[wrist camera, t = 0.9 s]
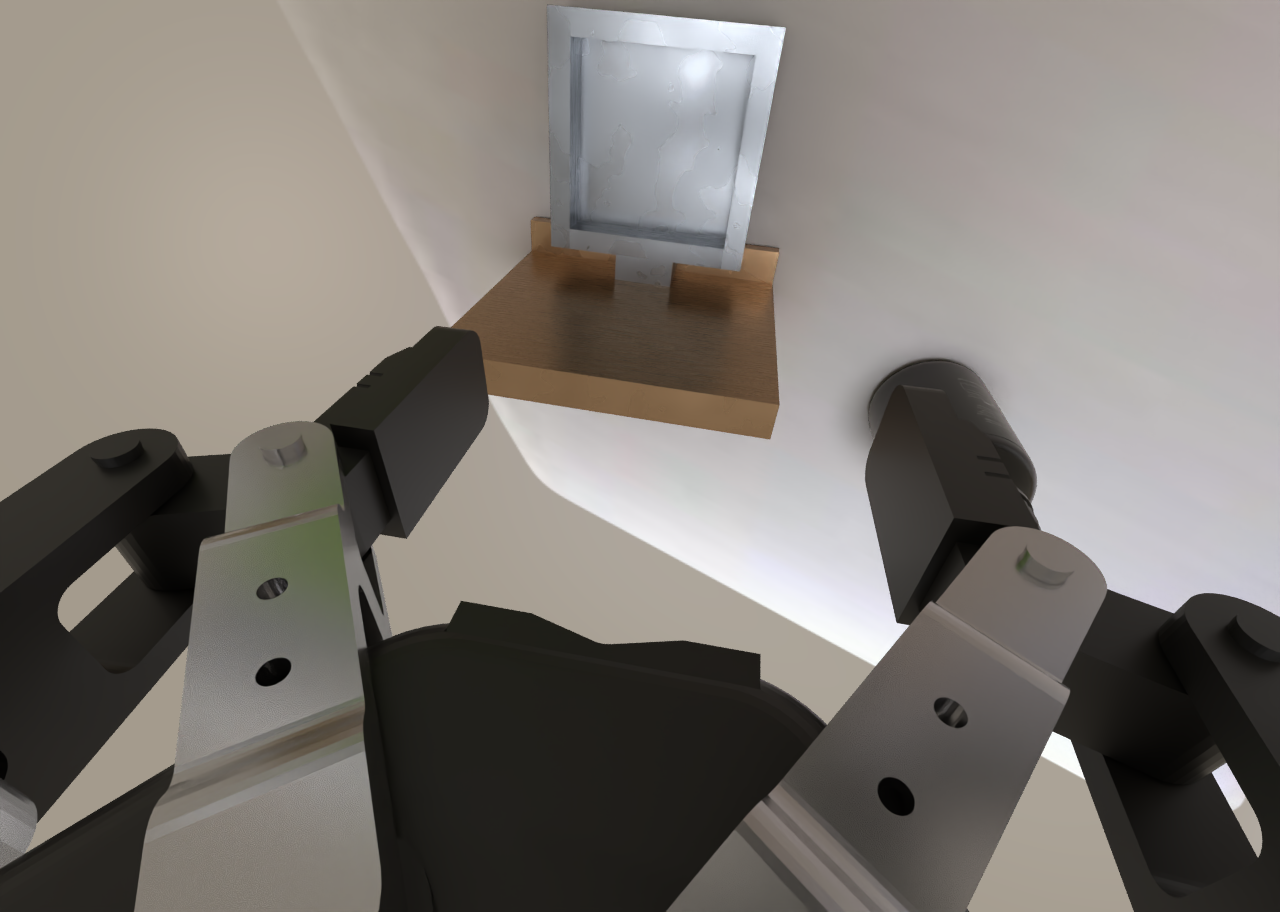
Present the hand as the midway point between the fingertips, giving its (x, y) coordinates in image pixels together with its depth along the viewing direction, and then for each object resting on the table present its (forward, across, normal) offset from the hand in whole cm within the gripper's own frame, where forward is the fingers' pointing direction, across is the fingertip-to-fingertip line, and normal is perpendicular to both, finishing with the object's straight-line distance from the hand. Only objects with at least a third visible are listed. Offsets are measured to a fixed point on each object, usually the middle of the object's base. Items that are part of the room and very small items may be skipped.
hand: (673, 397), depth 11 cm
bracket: (+23, +4, +1) cm, 23 cm away
